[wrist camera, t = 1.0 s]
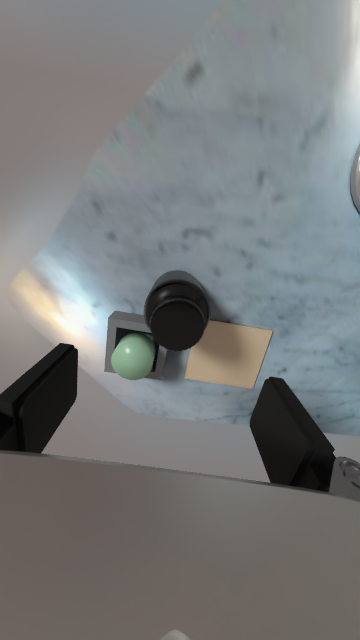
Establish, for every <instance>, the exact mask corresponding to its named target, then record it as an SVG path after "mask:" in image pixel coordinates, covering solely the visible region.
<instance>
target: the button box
mask: <svg viewBox="0 0 360 640" xmlns="http://www.w3.org/2000/svg"><path fill="white" fill-rule="evenodd" d="M121 328H125V329H131V330H137V331H143V332H149V333H151V331H150V330H149V328H148V327H147V325H146V322H145V319H144V315H138V314H132V313H126V312H120V311H114V312H113V313H112V314H111V316H110V317H109V318H108V330H107V344H106V357H105V370H104V371H105V372H111V373H116V372H115V371H114V369H113V367H112V364H111V357H112V354H113V352H114V350H115V349H116V347H117V345H118V344H119V342H120V336H121ZM166 353H167V349H165V348H164V347H162V346H160V345H159V351H158V357H157V361H153V366H152V369H151V371H150V372H149V374H148V375H147V376H145V378H151V379H158V380H162V375H163V370H164V364H165V358H166Z"/></svg>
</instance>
